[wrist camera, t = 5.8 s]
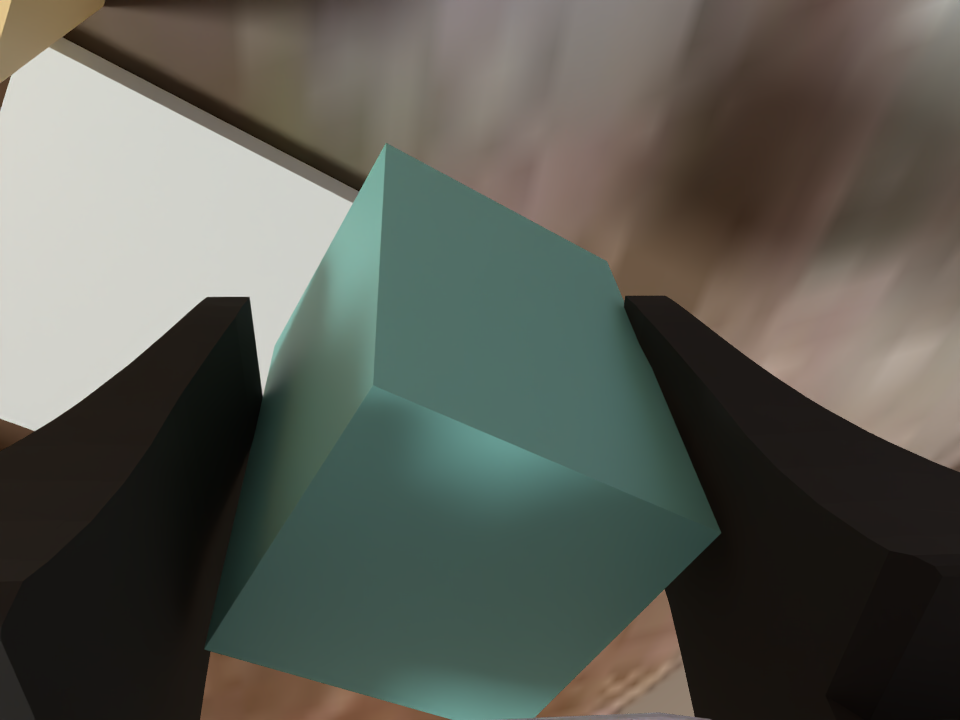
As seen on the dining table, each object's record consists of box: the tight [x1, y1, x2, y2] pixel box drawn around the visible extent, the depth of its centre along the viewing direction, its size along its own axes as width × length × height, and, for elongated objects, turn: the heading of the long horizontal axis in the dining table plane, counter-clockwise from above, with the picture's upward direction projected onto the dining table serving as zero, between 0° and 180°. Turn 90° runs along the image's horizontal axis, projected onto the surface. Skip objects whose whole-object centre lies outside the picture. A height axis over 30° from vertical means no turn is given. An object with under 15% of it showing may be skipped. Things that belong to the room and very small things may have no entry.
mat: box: [0, 37, 359, 431], centre depth 21 cm, size 10×10×1 cm
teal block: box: [204, 143, 721, 720], centre depth 11 cm, size 4×4×6 cm
